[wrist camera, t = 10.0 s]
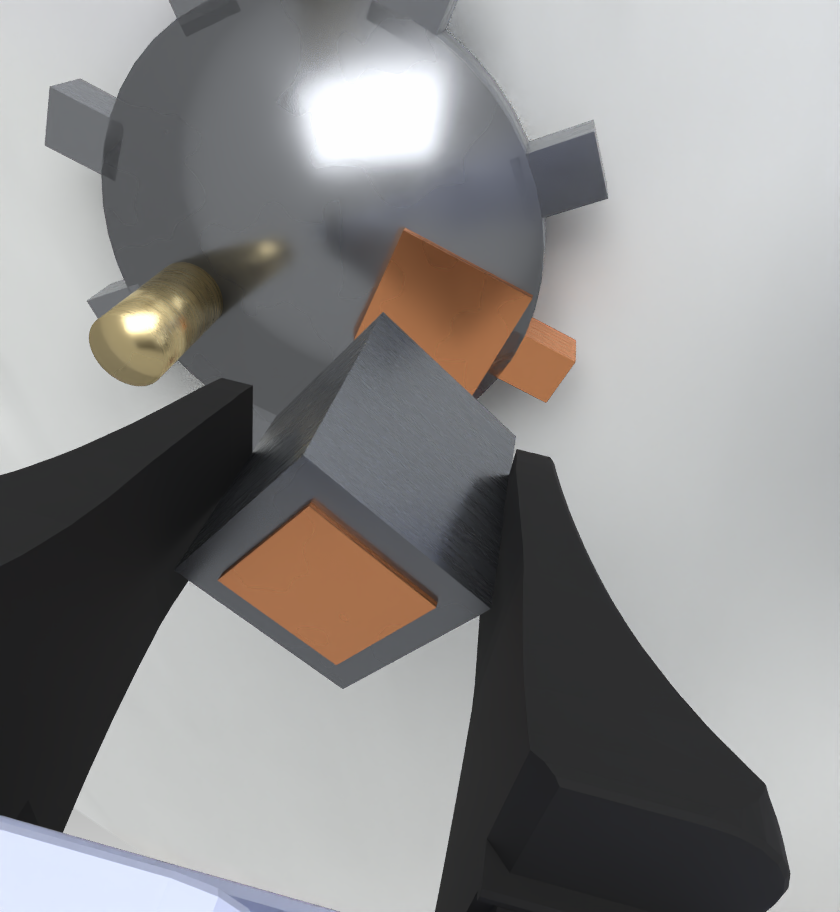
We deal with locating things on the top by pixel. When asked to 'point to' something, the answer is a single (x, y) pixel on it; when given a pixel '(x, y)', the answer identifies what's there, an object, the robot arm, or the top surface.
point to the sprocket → (320, 198)
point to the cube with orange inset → (363, 512)
